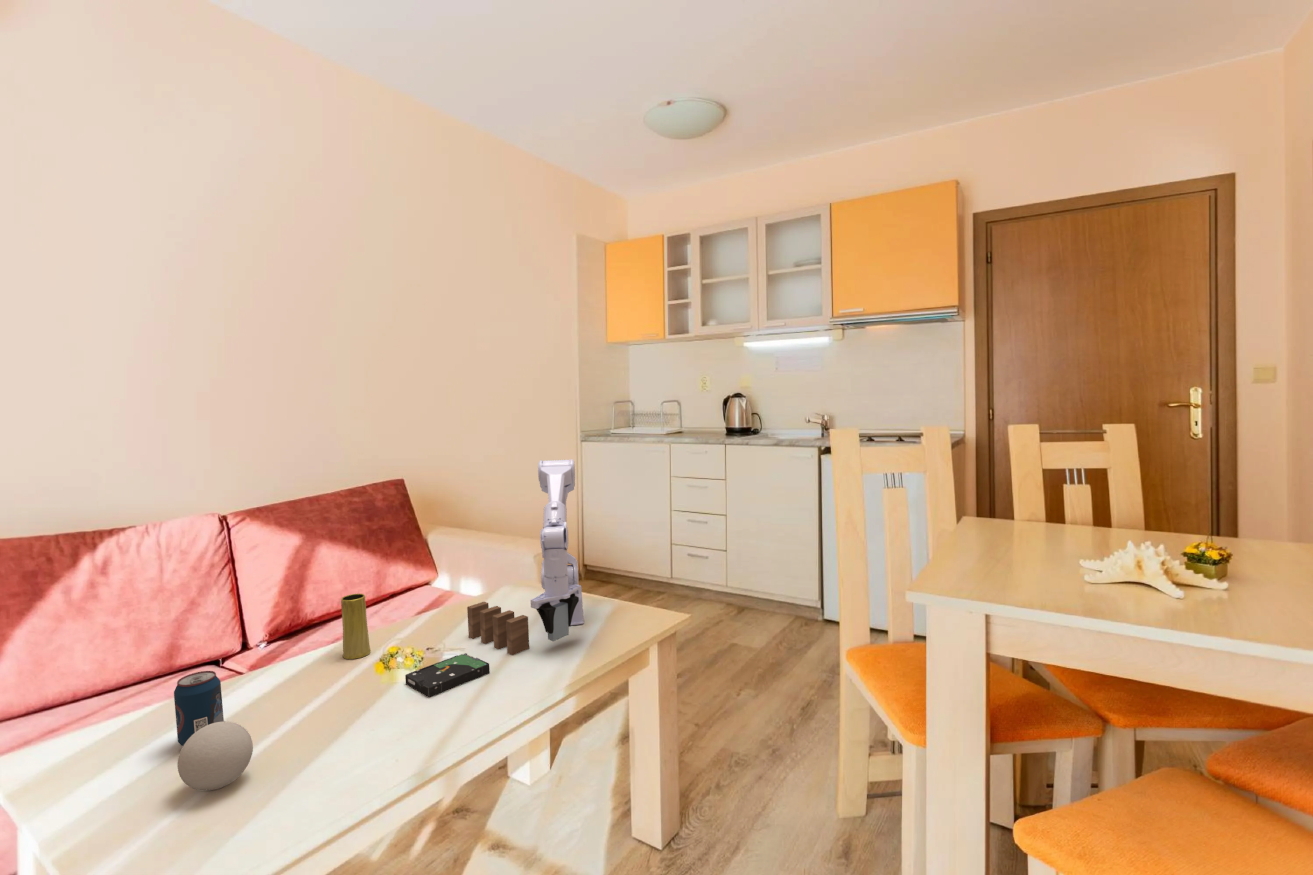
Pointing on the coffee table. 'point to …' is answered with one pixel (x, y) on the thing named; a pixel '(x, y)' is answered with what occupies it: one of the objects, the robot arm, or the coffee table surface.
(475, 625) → the pushed domino
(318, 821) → the coffee table surface
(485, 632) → the domino
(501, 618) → the brown wooden block
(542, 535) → the robot arm
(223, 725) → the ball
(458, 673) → the disk drive
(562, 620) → the domino
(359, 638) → the vase
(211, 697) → the soda can
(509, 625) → the domino
